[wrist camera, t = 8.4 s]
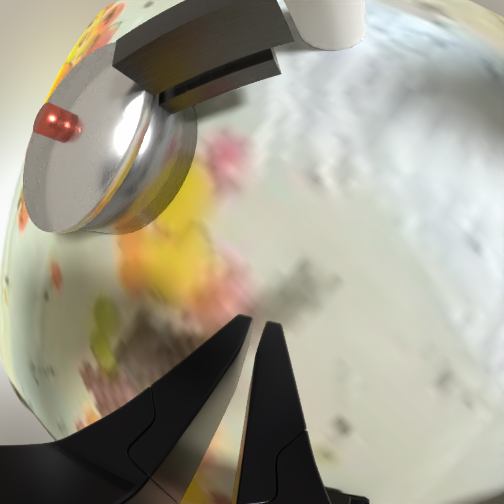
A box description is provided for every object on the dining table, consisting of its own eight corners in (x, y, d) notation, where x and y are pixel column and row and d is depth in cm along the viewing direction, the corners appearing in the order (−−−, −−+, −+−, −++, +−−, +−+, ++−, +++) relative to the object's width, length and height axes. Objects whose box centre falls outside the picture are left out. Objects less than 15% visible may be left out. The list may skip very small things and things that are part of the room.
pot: (315, 182, 18) (295, 148, 13) (62, 255, 28) (18, 253, 22) (272, 31, 20) (248, -15, 15) (66, 137, 29) (30, 123, 24)
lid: (329, 146, 12) (314, 96, 8) (30, 251, 20) (-9, 249, 16) (264, -25, 14) (243, -64, 10) (44, 105, 22) (15, 92, 18)
